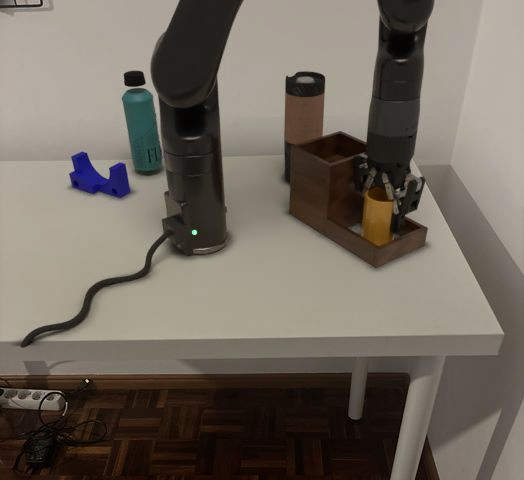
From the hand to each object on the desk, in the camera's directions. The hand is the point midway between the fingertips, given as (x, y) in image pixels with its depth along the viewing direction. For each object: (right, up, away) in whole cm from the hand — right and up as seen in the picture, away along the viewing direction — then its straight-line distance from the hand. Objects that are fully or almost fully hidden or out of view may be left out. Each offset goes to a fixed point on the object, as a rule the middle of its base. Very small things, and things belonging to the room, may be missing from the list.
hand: (382, 223), depth 96 cm
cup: (-1, -3, +2) cm, 4 cm away
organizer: (-4, 0, +6) cm, 7 cm away
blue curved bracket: (-54, +11, +19) cm, 58 cm away
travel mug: (-12, +14, +21) cm, 29 cm away
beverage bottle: (-45, +17, +25) cm, 55 cm away
